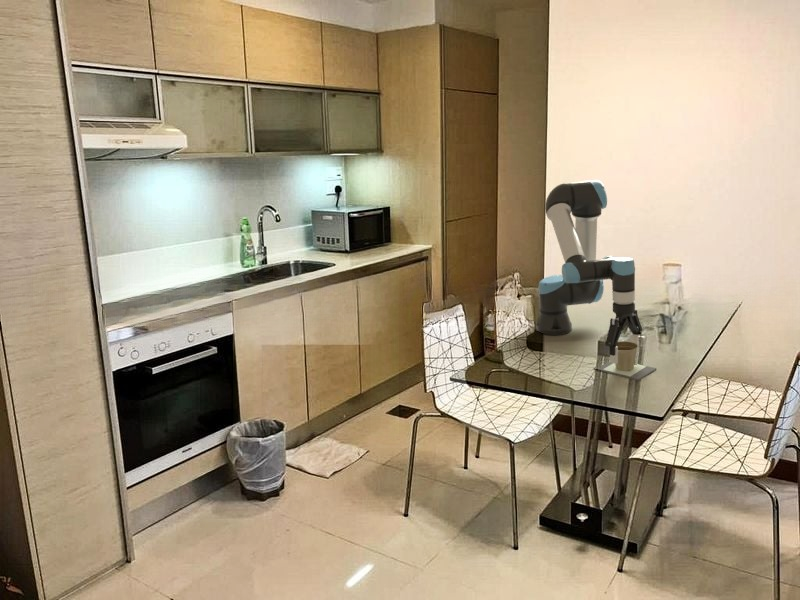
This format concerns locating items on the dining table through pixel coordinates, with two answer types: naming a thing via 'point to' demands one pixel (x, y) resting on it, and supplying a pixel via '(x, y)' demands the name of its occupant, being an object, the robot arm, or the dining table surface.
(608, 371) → the flat plate
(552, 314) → the robot arm
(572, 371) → the dining table surface
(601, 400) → the dining table surface
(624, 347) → the flower pot
